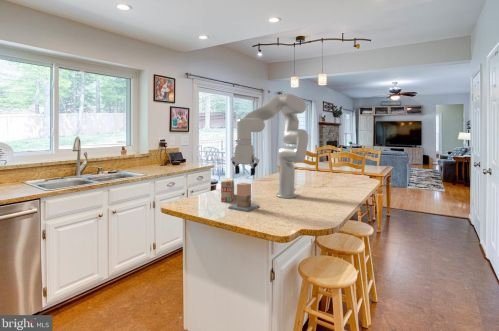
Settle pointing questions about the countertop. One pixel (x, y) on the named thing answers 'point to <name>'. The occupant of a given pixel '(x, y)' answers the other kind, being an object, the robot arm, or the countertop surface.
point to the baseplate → (243, 207)
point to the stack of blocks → (227, 190)
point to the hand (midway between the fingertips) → (245, 174)
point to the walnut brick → (244, 201)
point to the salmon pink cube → (244, 189)
